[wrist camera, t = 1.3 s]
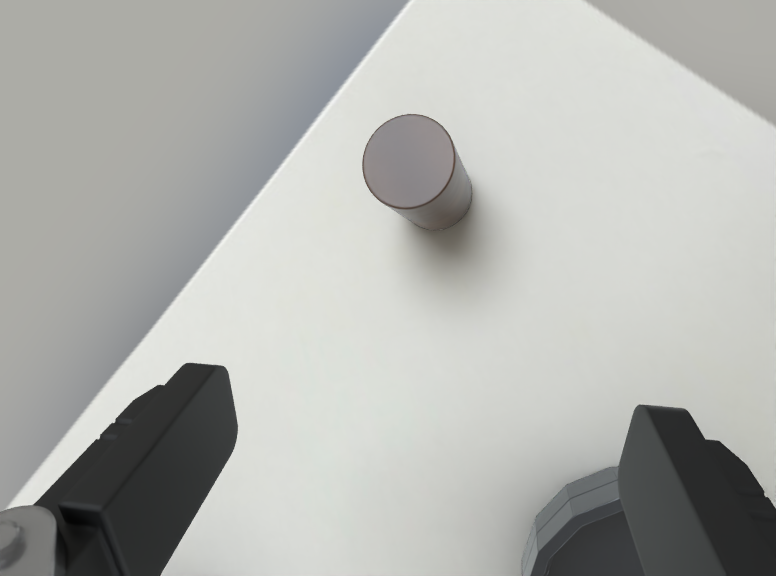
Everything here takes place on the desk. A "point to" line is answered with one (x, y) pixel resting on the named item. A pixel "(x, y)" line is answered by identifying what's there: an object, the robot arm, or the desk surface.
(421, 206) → the brown cylinder
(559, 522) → the pan
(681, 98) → the desk surface
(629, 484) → the robot arm
